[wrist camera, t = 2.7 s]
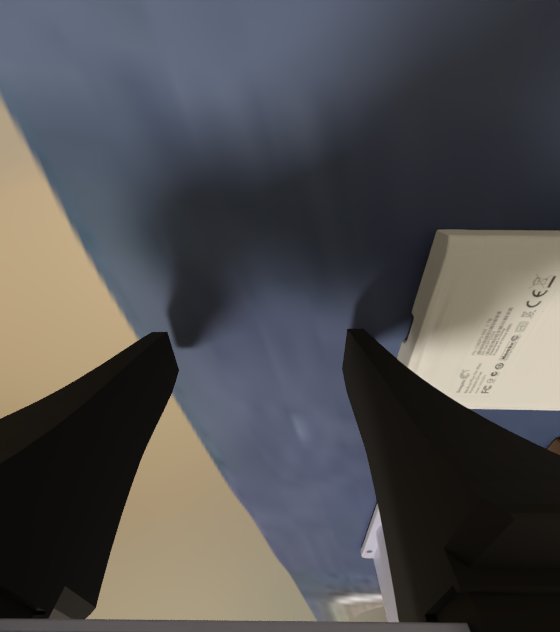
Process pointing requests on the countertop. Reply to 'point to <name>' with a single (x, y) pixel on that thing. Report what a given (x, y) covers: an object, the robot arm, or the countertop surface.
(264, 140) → the countertop surface
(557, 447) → the dock
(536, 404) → the external hard drive
